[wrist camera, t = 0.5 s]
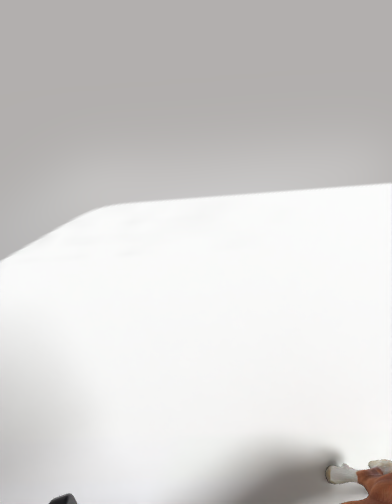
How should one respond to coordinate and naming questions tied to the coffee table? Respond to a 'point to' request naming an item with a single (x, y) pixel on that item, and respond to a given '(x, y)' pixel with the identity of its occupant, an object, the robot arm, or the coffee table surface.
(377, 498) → the bull figurine
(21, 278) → the coffee table surface
